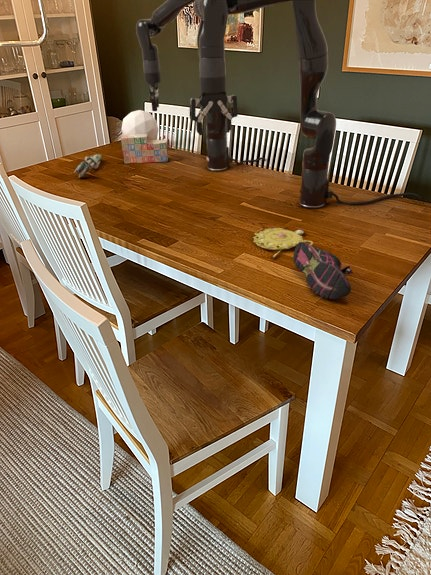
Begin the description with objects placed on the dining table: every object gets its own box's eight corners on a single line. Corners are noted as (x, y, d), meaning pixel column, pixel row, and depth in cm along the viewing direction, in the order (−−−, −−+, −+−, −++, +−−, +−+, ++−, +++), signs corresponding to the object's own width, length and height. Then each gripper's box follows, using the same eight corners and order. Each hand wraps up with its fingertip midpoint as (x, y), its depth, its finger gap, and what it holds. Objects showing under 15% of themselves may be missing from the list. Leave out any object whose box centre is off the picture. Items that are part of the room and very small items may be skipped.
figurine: (78, 158, 192) (99, 144, 218) (67, 172, 195) (90, 156, 221) (91, 170, 194) (110, 155, 220) (80, 183, 197) (101, 166, 224)
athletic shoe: (337, 289, 105) (377, 281, 109) (296, 226, 117) (333, 221, 121) (320, 316, 114) (357, 308, 118) (283, 255, 126) (318, 250, 130)
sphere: (134, 159, 245) (115, 127, 242) (165, 142, 247) (146, 110, 244) (133, 150, 226) (112, 115, 223) (166, 132, 228) (146, 97, 226)
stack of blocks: (168, 158, 222) (166, 133, 216) (167, 162, 217) (165, 136, 210) (126, 159, 222) (122, 134, 216) (124, 163, 217) (120, 137, 210)
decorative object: (267, 219, 151) (324, 228, 141) (267, 226, 152) (323, 235, 143) (237, 243, 137) (298, 255, 127) (238, 250, 138) (298, 263, 128)
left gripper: (145, 69, 204) (149, 106, 213) (141, 73, 192) (145, 112, 201) (161, 68, 204) (165, 106, 213) (158, 72, 192) (162, 112, 201)
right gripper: (191, 77, 121) (194, 138, 129) (240, 74, 124) (240, 133, 133) (185, 74, 127) (188, 132, 136) (232, 71, 130) (232, 128, 139)
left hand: (155, 109), depth 207 cm, fingers open, 8 cm apart
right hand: (214, 133), depth 134 cm, fingers open, 8 cm apart
